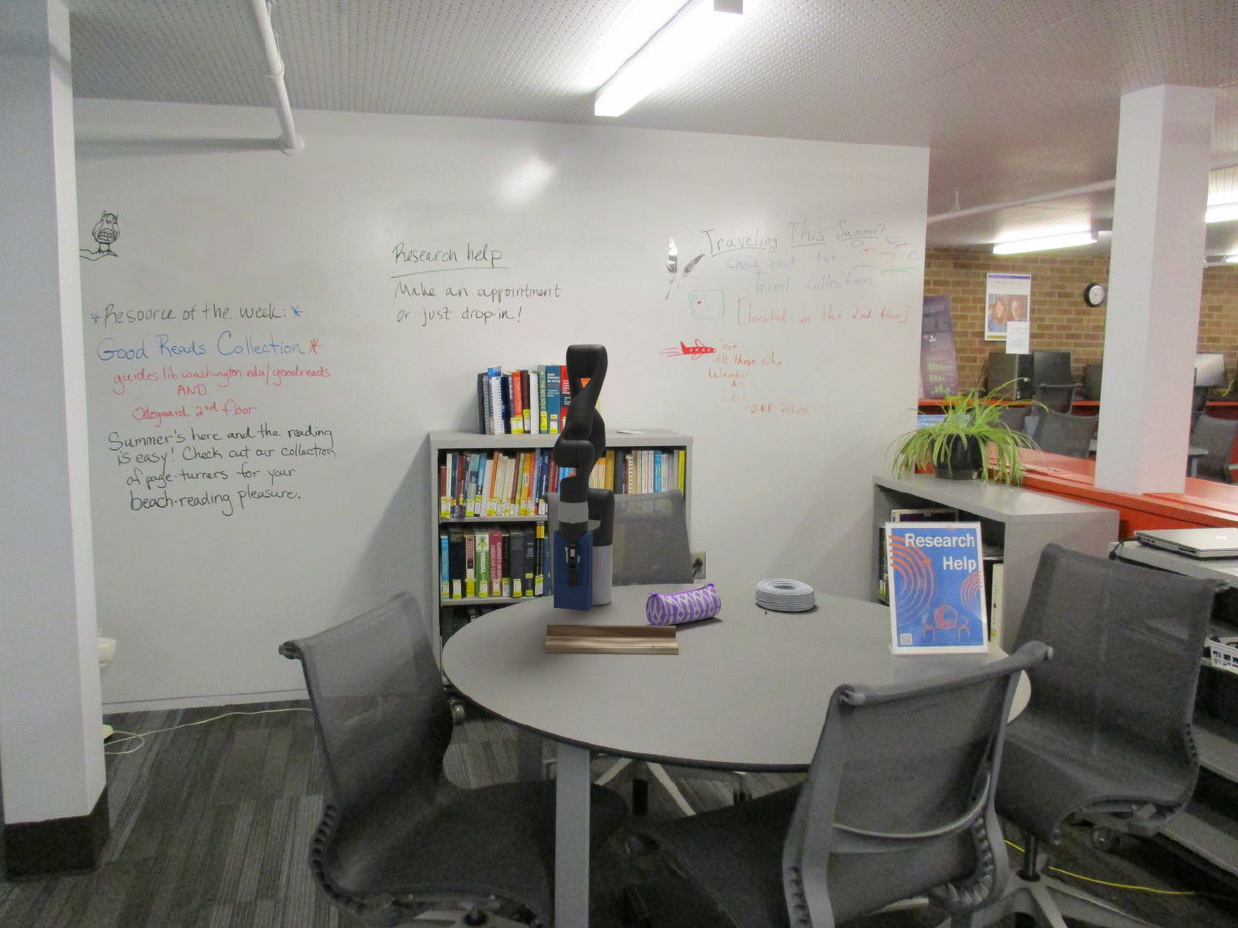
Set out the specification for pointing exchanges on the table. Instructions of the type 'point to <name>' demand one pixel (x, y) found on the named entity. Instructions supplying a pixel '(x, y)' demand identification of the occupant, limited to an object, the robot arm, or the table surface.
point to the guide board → (612, 639)
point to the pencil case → (683, 606)
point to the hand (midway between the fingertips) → (573, 582)
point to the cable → (784, 595)
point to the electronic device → (583, 591)
